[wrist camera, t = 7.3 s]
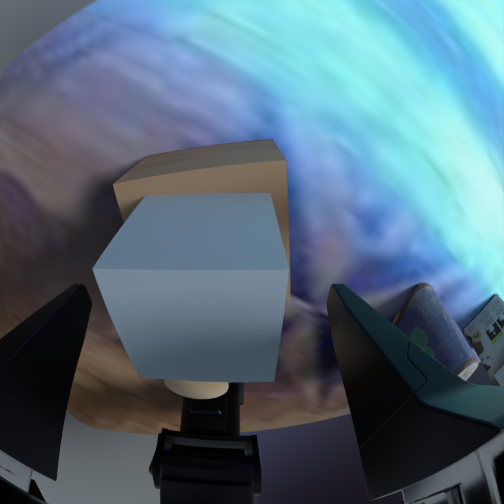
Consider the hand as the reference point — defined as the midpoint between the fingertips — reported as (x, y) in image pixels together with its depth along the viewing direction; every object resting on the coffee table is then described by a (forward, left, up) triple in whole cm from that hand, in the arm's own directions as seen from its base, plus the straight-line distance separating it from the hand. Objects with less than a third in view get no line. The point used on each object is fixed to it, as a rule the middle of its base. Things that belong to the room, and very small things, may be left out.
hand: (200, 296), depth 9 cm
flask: (-11, -16, -8) cm, 21 cm away
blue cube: (0, 0, -3) cm, 3 cm away
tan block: (0, 0, -8) cm, 8 cm away
